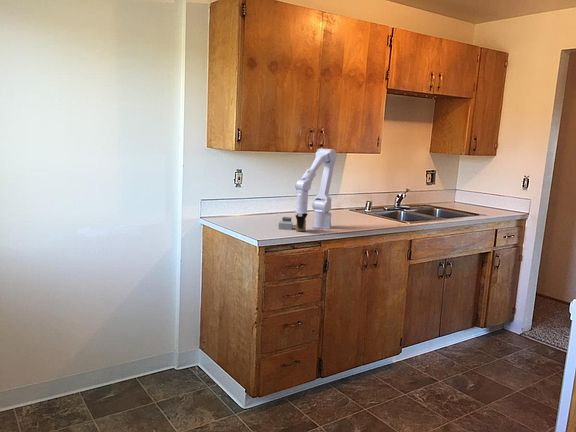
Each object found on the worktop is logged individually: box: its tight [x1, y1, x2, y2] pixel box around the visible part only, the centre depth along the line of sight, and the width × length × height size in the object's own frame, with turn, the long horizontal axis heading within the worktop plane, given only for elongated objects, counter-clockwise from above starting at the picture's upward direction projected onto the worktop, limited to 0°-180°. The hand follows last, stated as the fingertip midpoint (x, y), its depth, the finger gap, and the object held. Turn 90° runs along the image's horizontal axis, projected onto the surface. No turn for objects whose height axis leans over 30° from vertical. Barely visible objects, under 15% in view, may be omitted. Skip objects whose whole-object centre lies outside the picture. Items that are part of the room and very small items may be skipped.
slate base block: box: [278, 220, 293, 231], centre depth 268 cm, size 7×7×4 cm
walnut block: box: [295, 219, 307, 232], centre depth 262 cm, size 4×4×6 cm
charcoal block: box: [281, 216, 292, 222], centre depth 276 cm, size 4×4×4 cm
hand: (301, 227), depth 263 cm, fingers closed on walnut block, 4 cm apart
